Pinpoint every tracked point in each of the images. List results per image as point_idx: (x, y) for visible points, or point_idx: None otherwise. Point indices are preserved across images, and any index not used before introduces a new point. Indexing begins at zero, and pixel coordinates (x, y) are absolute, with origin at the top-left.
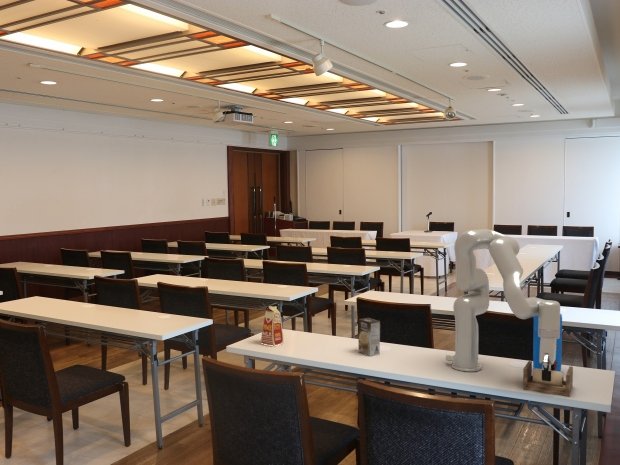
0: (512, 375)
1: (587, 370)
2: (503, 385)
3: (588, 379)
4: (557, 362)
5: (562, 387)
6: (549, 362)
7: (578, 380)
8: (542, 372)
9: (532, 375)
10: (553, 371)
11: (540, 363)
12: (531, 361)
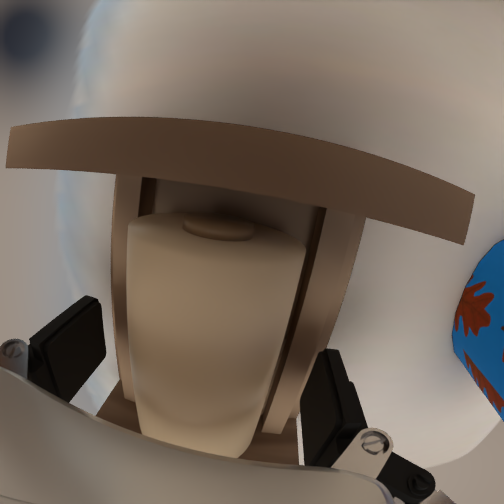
0: (437, 87)
1: (489, 420)
2: (180, 21)
3: (408, 445)
4: (492, 405)
5: (132, 388)
6: (330, 462)
7: (398, 427)
8: (45, 331)
9: (185, 216)
10: (170, 428)
11: (4, 371)
12: (451, 236)
